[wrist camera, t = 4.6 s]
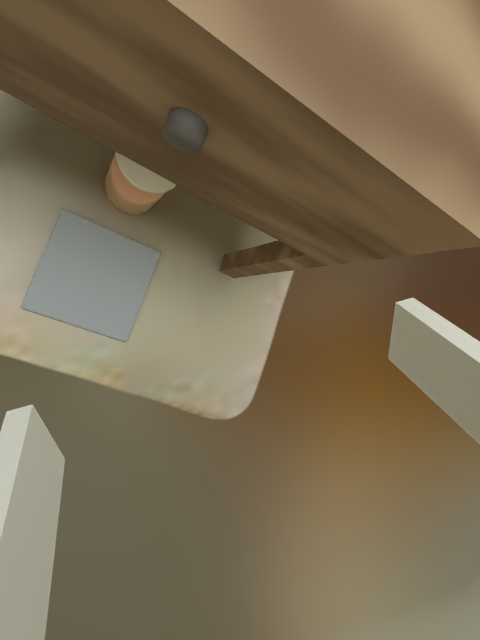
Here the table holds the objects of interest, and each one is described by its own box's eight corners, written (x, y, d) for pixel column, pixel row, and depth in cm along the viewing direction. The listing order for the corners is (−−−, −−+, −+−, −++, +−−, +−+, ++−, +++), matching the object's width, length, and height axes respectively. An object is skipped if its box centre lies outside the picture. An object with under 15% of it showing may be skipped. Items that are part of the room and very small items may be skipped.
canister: (108, 218, 37) (123, 192, 28) (97, 160, 37) (110, 115, 28) (162, 214, 40) (192, 189, 31) (153, 160, 39) (182, 119, 30)
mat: (125, 341, 39) (126, 342, 38) (21, 307, 35) (20, 307, 34) (159, 253, 40) (160, 252, 39) (62, 210, 36) (62, 208, 35)
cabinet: (231, 284, 44) (483, 262, 17) (-47, 159, 32) (-556, -485, 6) (282, 142, 46) (577, -71, 19) (39, -25, 34) (-47, -1134, 8)
